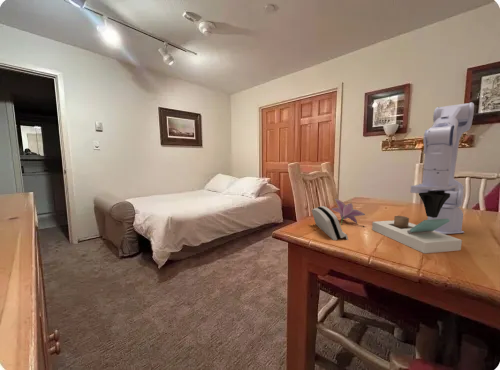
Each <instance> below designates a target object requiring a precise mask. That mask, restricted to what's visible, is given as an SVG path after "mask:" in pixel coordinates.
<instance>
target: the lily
mask: <svg viewBox="0 0 500 370" xmlns="http://www.w3.org/2000/svg"><path fill="white" fill-rule="evenodd" d="M334 200H335V203H336V205H337V207H332V208H331V211H334V212H336V213H339V215H340V219H341V222H340V226H342V224H343V220H347V219H350V220H351V221H352V222H353V223H356V224H357V223H358V221H357V218H356V217H359V216H361V217H362V216H366V214H365V213H364V212H362V211H361V210H357V209H356V208H355V209H354V206H353V203H352V202H350V203H347V204H345V203H344V202H343V201H341V200H340V199H338V198H335V199H334Z"/></svg>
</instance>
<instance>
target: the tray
mask: <svg viewBox="0 0 500 370" xmlns="http://www.w3.org/2000/svg"><path fill="white" fill-rule="evenodd" d="M371 225H372V226H371V230H372V231H374V232H376V233H378V234H381V235H383V236H385V237H387V238H389V239H392V240H394V241H396V242H398V243H401V244H402V245H405V246H406V247H409V248H411V249H413V250H416V251H418V252H420V253H422V254H432V253H434V254H435V253H444V252H453V251H454V252H455V251H456V252H457V251H461V249H462V242H463V240H462V239H460V238H458V237H454V236H451V235H449V234H442V233H439V232H436V231H433V232H421V233H408V232H407V231H408V230H410V229H412V228H413V227H415V226H416V225H417V224H415V223H412V222H409V223H408V229H399V228H397V227H394V220H382V221H381V220H378V221H372V224H371Z"/></svg>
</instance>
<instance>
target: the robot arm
mask: <svg viewBox="0 0 500 370" xmlns="http://www.w3.org/2000/svg"><path fill="white" fill-rule="evenodd" d="M474 111H475V103H474V102H473V101H472V102H469V103H460V104H459V103H458V104H452V105H444V106H437V107H435V108H434V111H433V115H432V116H433V118H432V119H433V120H432V122H433V124H432V126H431V127H429V128H428V129H425V130H424V134H423V154H424V158H423V159H424V160H423V162H424V163H423V171H422V172H423V173H422V182H421V183H419V184H416V185H410V193H413V194H418V196H419V197H420V200H421V201H422V203H423V206H424V211H425V215H426V217H427V219H426V220H434V219H449V220H450V221H449V222H448V223H446V224H444V225H442V226H441V227H439V228H437V229H436V230H434V231H436V232H439V233H442V234H445V235H450V234H451V235H453V234H454V235H455V234H464V233H465V231H464V230H462V229H463V221H464V213H463V210H462V209H461V208H460V207H461V206H462V205H463V200H464V185H463V183H462V182H460V181H459V180H456V179H455V172H456V166H457V159H458V151H459V145H460V140H461V139H462V138H461V137H462V136H463V133H466V132H467V131H470V130H471V127H472V124H473V118H474Z"/></svg>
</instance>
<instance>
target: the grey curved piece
mask: <svg viewBox="0 0 500 370" xmlns="http://www.w3.org/2000/svg"><path fill="white" fill-rule="evenodd" d="M311 213H312V217H313V219H314V224H315V225H316V226H317V227H318V228H319V229H320V230H321V231H322V232H324V233H325V234H326V235H327V236H328V237H329V238H330V239H331V240H332V241H337V240H338V238H339V239H343V238H344V239H345V240H347V241H349V237H348V234H347V233H346V232H344V231H343V229H342V226H341V223H340V221H339V218H338V217H337V216H336V214H335V213H334V212H333V210H332V209H330V208H328V207H327V206H324V205H321V206H317V207H315V208H313V209H311Z"/></svg>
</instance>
